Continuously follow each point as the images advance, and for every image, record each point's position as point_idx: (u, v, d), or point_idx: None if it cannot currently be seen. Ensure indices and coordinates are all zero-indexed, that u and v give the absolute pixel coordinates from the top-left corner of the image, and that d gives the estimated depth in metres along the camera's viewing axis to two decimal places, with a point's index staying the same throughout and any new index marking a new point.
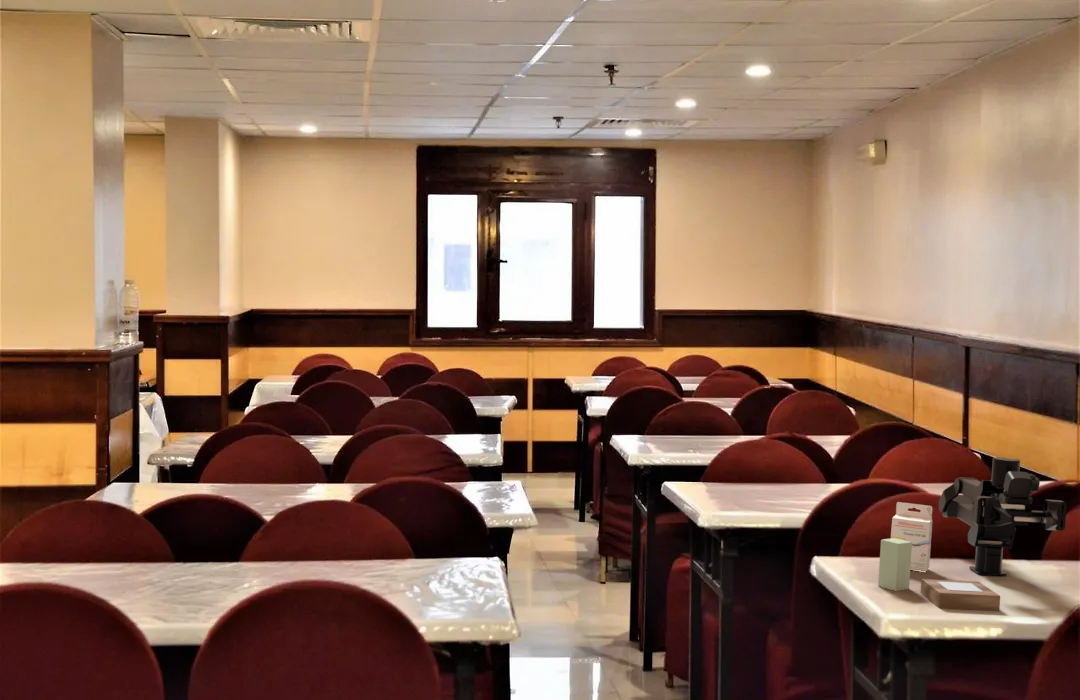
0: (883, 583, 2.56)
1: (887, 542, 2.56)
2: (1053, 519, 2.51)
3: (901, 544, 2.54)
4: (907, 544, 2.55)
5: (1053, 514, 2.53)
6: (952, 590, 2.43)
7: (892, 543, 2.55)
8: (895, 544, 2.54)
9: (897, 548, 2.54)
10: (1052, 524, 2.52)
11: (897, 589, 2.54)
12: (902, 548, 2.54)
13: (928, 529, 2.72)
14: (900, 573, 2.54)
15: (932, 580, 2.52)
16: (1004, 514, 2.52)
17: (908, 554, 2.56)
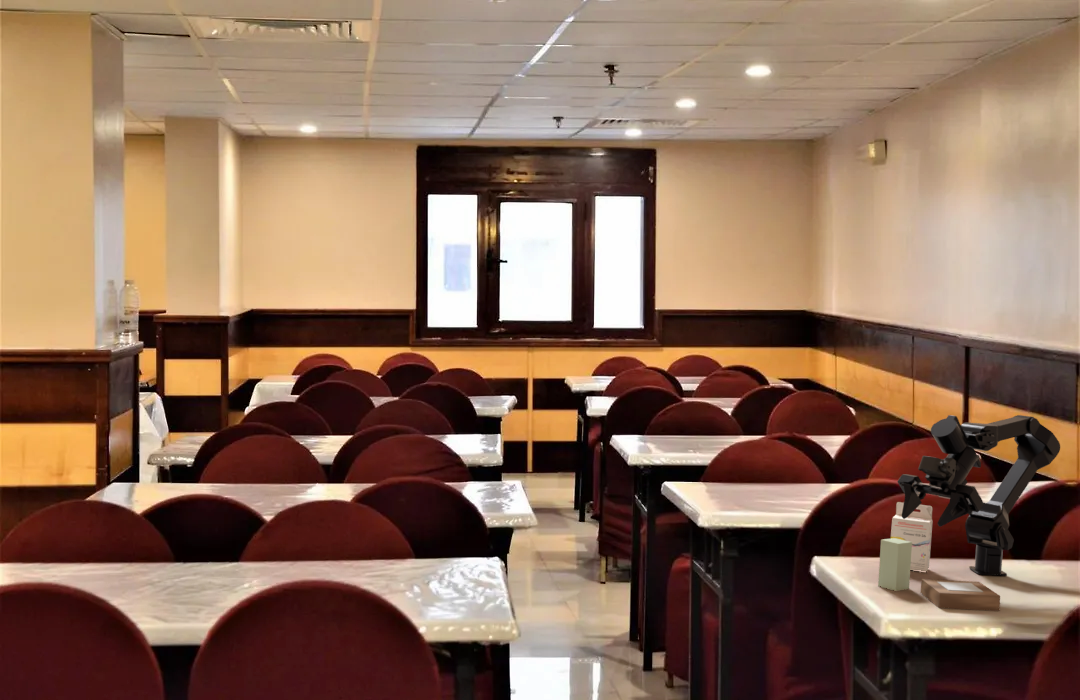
0: (883, 583, 2.56)
1: (887, 542, 2.56)
2: None
3: (901, 544, 2.54)
4: (907, 544, 2.55)
5: (944, 511, 2.57)
6: (952, 590, 2.43)
7: (892, 543, 2.55)
8: (895, 544, 2.54)
9: (897, 548, 2.54)
10: None
11: (897, 589, 2.54)
12: (902, 548, 2.54)
13: (928, 529, 2.72)
14: (900, 573, 2.54)
15: (932, 580, 2.52)
16: None
17: (908, 554, 2.56)
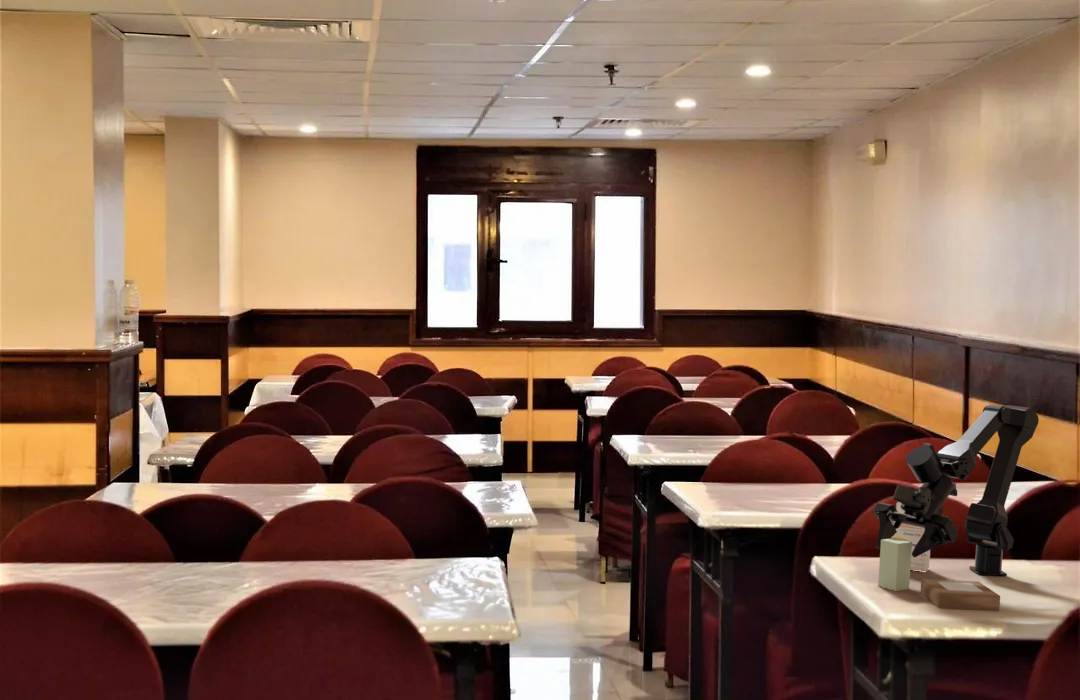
0: (883, 583, 2.56)
1: (887, 542, 2.56)
2: None
3: (901, 544, 2.54)
4: (907, 544, 2.55)
5: (919, 542, 2.53)
6: (952, 590, 2.43)
7: (892, 543, 2.55)
8: (895, 544, 2.54)
9: (897, 548, 2.54)
10: None
11: (897, 589, 2.54)
12: (902, 548, 2.54)
13: None
14: (900, 573, 2.54)
15: (932, 580, 2.52)
16: None
17: (908, 554, 2.56)
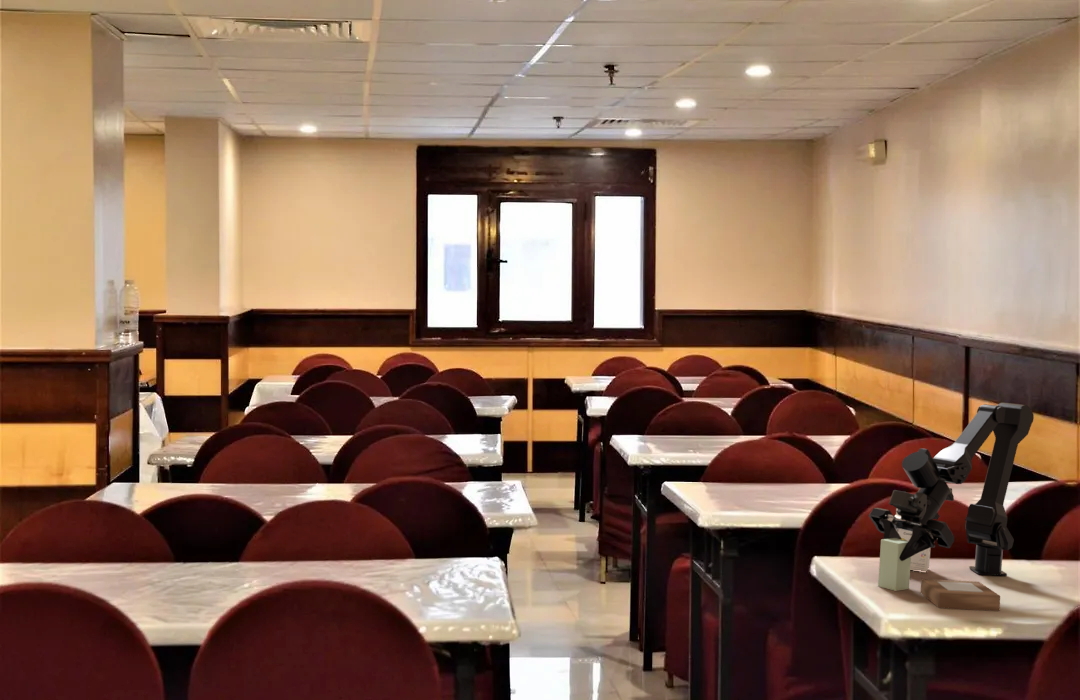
0: (883, 583, 2.56)
1: (887, 542, 2.56)
2: None
3: (901, 544, 2.54)
4: None
5: (906, 546, 2.54)
6: (952, 590, 2.43)
7: (892, 543, 2.55)
8: (895, 544, 2.54)
9: (897, 548, 2.54)
10: None
11: (897, 589, 2.54)
12: (902, 548, 2.54)
13: None
14: (900, 573, 2.54)
15: (932, 580, 2.52)
16: None
17: None
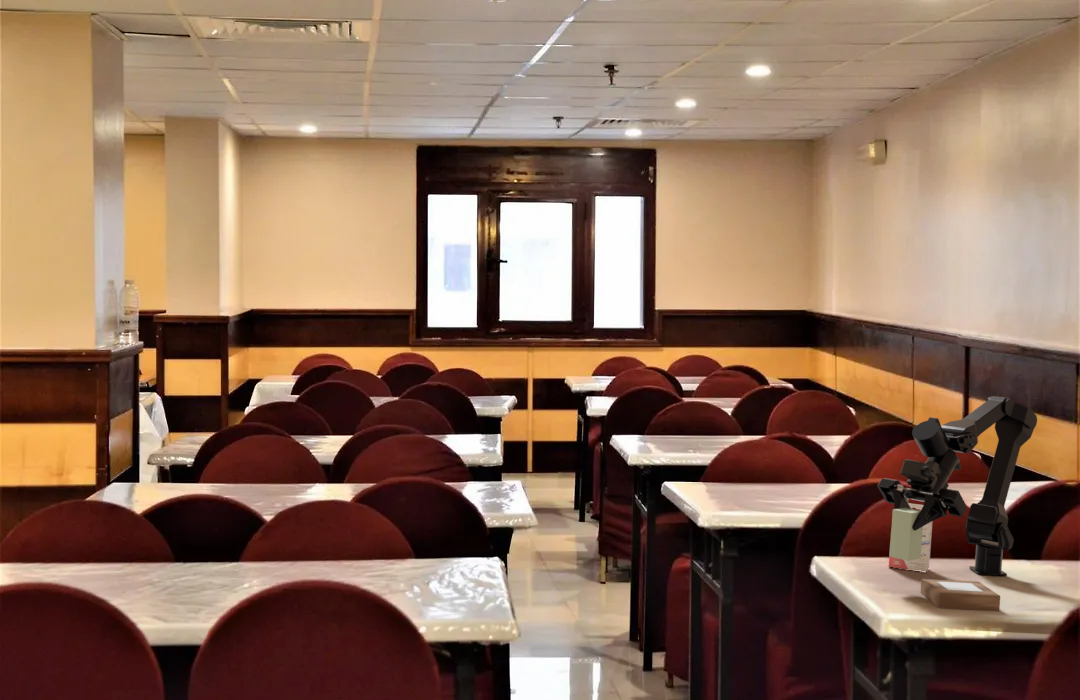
0: (895, 553, 2.54)
1: (899, 512, 2.53)
2: None
3: (914, 513, 2.52)
4: None
5: (919, 515, 2.52)
6: (952, 590, 2.43)
7: (904, 513, 2.52)
8: (908, 513, 2.52)
9: (910, 517, 2.51)
10: None
11: (910, 559, 2.52)
12: (914, 517, 2.52)
13: (928, 529, 2.72)
14: (912, 543, 2.52)
15: (932, 580, 2.52)
16: None
17: None
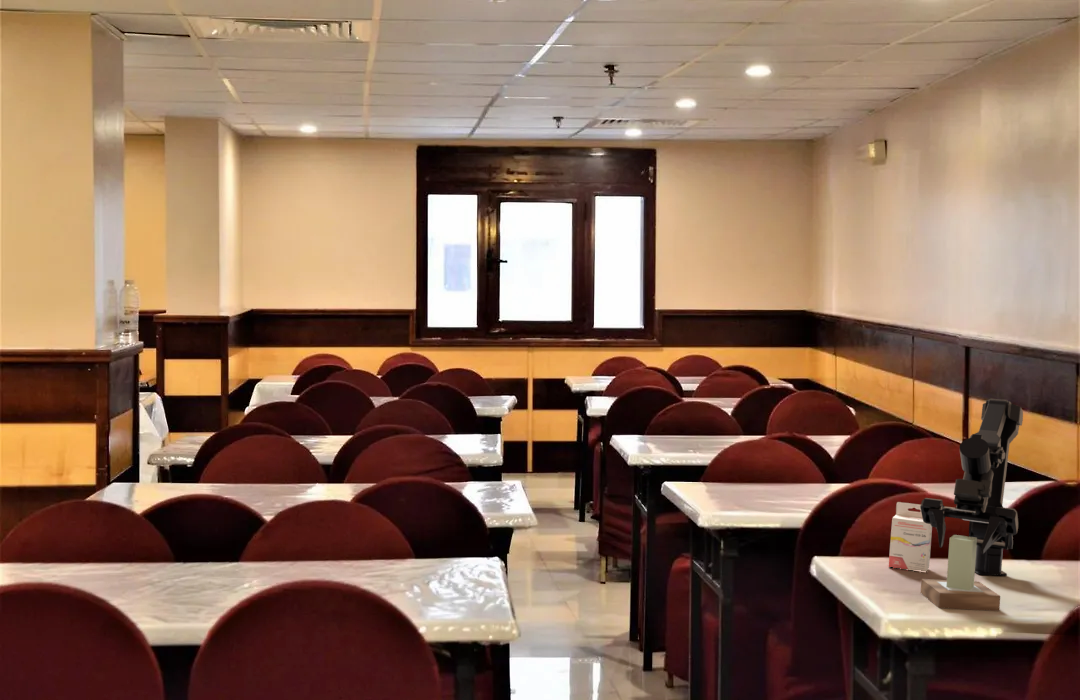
0: (953, 583, 2.45)
1: (958, 540, 2.45)
2: None
3: (973, 541, 2.44)
4: (975, 540, 2.46)
5: (986, 537, 2.44)
6: (952, 590, 2.43)
7: (964, 541, 2.44)
8: (968, 542, 2.44)
9: (971, 546, 2.43)
10: None
11: (970, 588, 2.44)
12: (973, 545, 2.44)
13: (928, 529, 2.72)
14: (971, 571, 2.45)
15: (932, 580, 2.52)
16: (938, 535, 2.48)
17: (975, 551, 2.46)
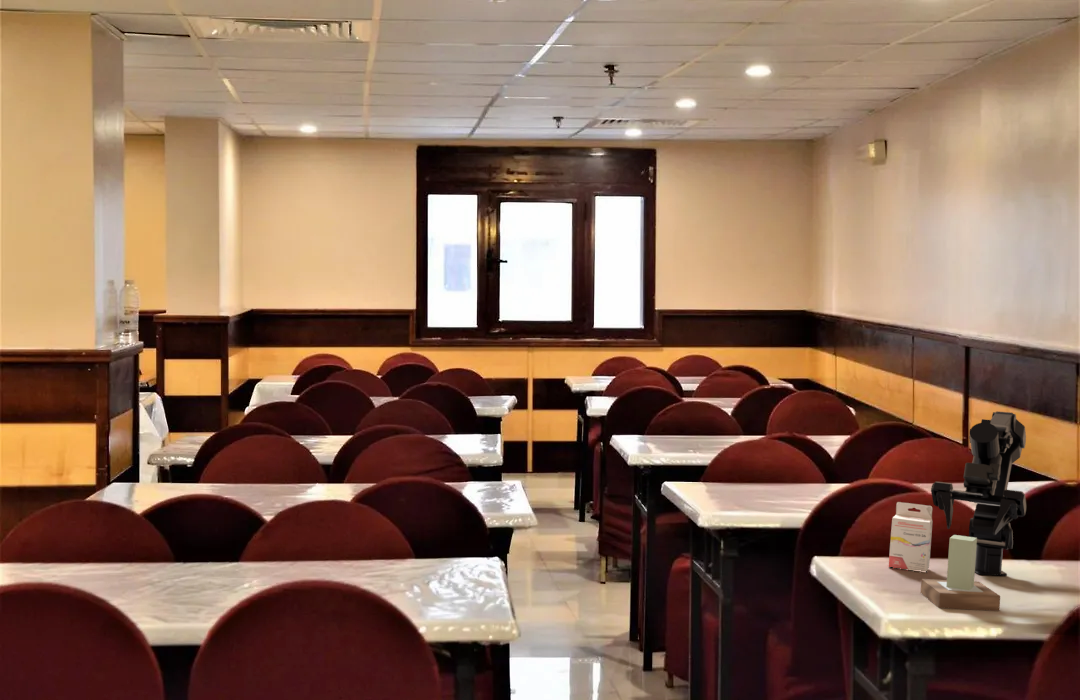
0: (953, 583, 2.45)
1: (958, 540, 2.45)
2: None
3: (973, 541, 2.44)
4: (975, 540, 2.46)
5: (997, 519, 2.51)
6: (952, 590, 2.43)
7: (964, 541, 2.44)
8: (968, 542, 2.44)
9: (971, 546, 2.43)
10: None
11: (970, 588, 2.44)
12: (973, 545, 2.44)
13: (928, 529, 2.72)
14: (971, 571, 2.45)
15: (932, 580, 2.52)
16: None
17: (975, 551, 2.46)
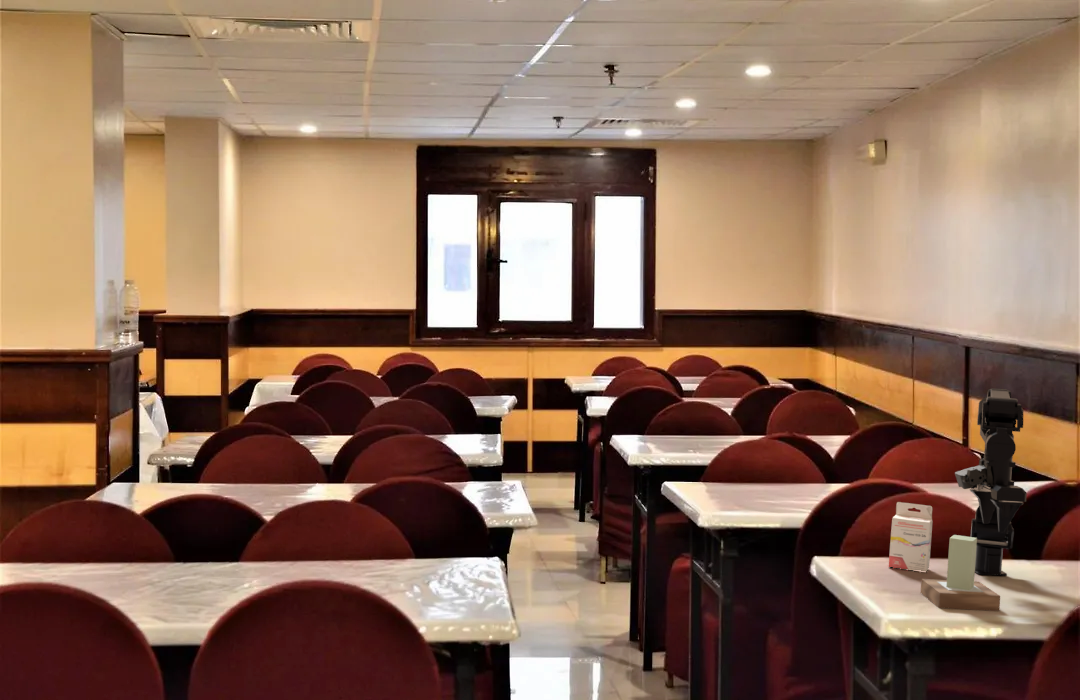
0: (953, 583, 2.45)
1: (958, 540, 2.45)
2: None
3: (973, 541, 2.44)
4: (975, 540, 2.46)
5: (997, 518, 2.56)
6: (952, 590, 2.43)
7: (964, 541, 2.44)
8: (968, 542, 2.44)
9: (971, 546, 2.43)
10: None
11: (970, 588, 2.44)
12: (973, 545, 2.44)
13: (928, 529, 2.72)
14: (971, 571, 2.45)
15: (932, 580, 2.52)
16: None
17: (975, 551, 2.46)
